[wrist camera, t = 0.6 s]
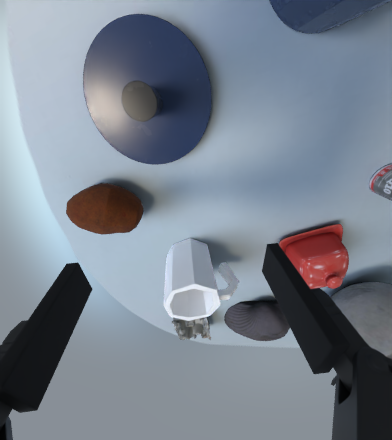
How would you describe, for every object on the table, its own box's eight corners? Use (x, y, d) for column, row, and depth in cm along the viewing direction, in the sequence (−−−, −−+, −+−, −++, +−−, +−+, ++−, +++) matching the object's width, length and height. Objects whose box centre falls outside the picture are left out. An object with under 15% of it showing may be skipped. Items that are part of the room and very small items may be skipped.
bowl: (296, 289, 43) (345, 366, 31) (391, 249, 39) (493, 320, 26) (314, 326, 53) (357, 396, 41) (391, 298, 49) (466, 367, 36)
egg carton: (209, 323, 48) (212, 340, 45) (181, 329, 48) (181, 346, 45) (202, 298, 42) (205, 316, 39) (170, 305, 43) (169, 323, 39)
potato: (139, 226, 31) (131, 253, 25) (77, 211, 28) (53, 237, 23) (149, 189, 28) (143, 210, 22) (80, 168, 25) (54, 186, 20)
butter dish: (275, 235, 34) (301, 271, 27) (339, 218, 33) (383, 249, 26) (277, 276, 40) (299, 313, 33) (332, 262, 40) (366, 297, 32)
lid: (73, 7, 18) (5, -56, 11) (218, 30, 19) (241, -11, 12) (99, 158, 25) (69, 179, 18) (203, 165, 26) (212, 187, 19)
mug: (165, 272, 37) (162, 321, 29) (167, 237, 32) (164, 283, 24) (225, 272, 38) (238, 319, 30) (234, 239, 34) (253, 284, 26)
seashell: (232, 285, 44) (238, 316, 37) (308, 296, 46) (327, 329, 39) (218, 320, 51) (220, 352, 44) (284, 329, 53) (296, 362, 46)
